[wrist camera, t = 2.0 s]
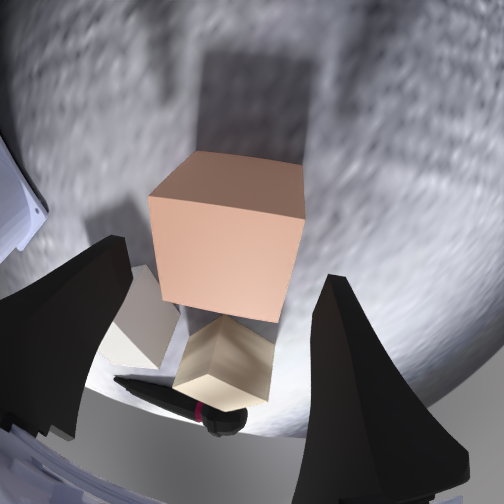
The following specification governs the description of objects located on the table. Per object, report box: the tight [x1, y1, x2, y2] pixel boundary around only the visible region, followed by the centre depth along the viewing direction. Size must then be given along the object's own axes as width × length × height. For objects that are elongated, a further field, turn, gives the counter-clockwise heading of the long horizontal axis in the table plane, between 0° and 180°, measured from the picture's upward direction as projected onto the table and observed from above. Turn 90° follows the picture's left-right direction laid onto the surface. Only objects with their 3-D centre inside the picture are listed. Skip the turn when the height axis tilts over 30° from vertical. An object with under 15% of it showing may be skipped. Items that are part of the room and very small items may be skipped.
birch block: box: [172, 314, 275, 412], centre depth 19 cm, size 5×5×5 cm
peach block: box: [148, 151, 305, 323], centre depth 12 cm, size 5×5×5 cm
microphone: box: [113, 377, 248, 437], centre depth 29 cm, size 6×6×20 cm
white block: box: [97, 265, 181, 369], centre depth 17 cm, size 5×5×5 cm
